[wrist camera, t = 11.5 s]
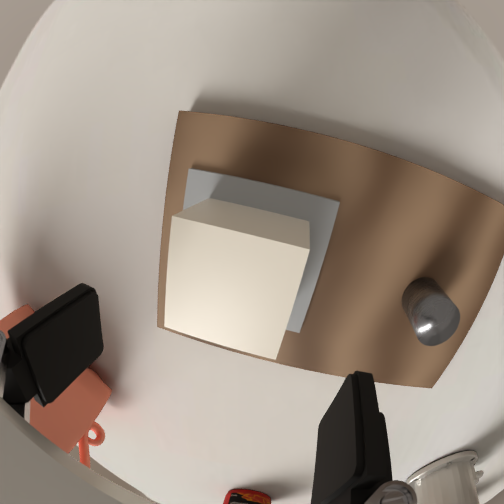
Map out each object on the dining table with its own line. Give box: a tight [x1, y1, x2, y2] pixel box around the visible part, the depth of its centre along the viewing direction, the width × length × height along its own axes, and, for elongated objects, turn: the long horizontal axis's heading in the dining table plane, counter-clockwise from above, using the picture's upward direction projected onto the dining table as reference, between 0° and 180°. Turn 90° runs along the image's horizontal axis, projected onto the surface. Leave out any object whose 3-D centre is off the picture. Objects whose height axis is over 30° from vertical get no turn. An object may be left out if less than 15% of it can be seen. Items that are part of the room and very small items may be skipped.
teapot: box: [0, 304, 112, 468], centre depth 23 cm, size 25×23×18 cm
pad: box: [183, 168, 340, 333], centre depth 18 cm, size 9×9×1 cm
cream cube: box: [164, 198, 310, 360], centre depth 15 cm, size 6×6×5 cm
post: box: [401, 277, 460, 346], centre depth 15 cm, size 3×3×4 cm
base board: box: [157, 111, 504, 388], centre depth 18 cm, size 24×16×2 cm, turn 79°
